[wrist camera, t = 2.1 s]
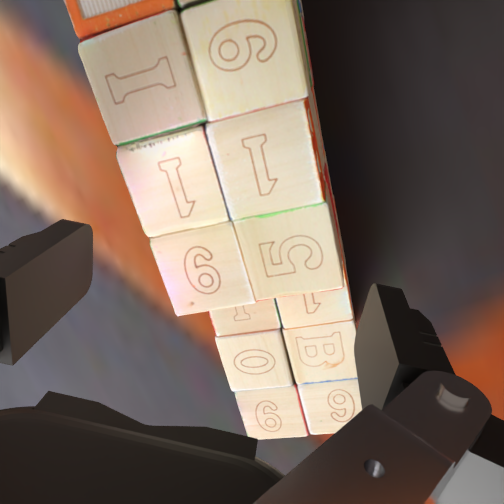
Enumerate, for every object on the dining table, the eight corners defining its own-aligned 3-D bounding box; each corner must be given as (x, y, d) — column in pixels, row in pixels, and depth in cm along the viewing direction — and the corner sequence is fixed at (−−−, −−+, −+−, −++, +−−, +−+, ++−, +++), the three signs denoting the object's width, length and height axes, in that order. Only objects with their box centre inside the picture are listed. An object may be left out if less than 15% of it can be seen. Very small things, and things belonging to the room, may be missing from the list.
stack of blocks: (358, 325, 28) (383, 493, 17) (266, 336, 30) (233, 499, 18) (293, -49, 21) (261, -191, 9) (174, -11, 22) (24, -94, 11)
